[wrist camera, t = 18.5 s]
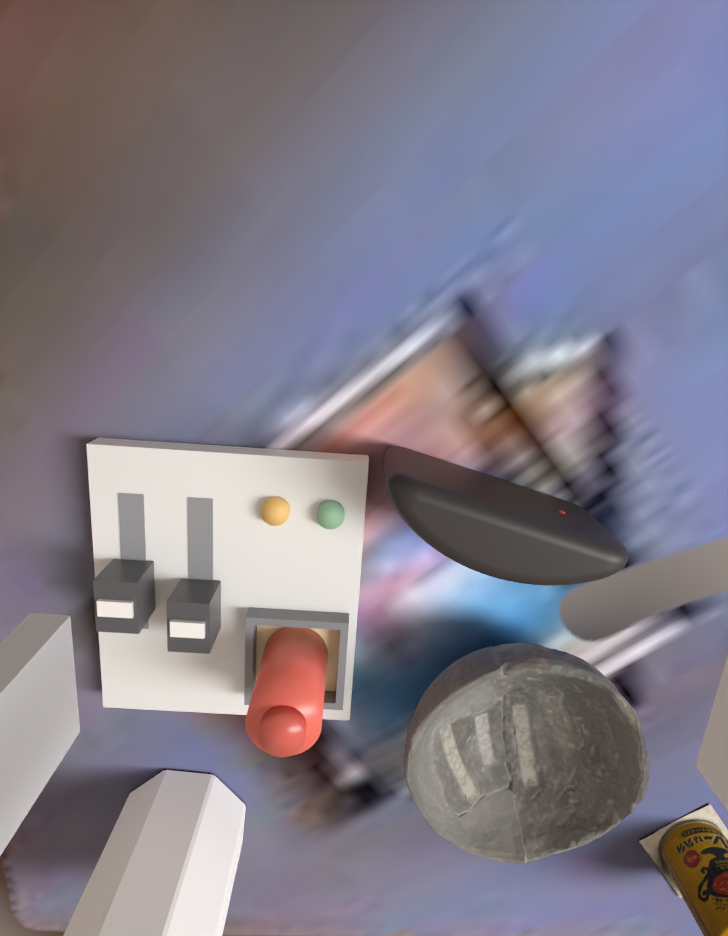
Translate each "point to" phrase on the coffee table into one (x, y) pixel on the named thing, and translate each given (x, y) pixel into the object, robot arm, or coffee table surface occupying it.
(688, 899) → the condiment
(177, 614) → the breaker
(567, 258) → the coffee table surface
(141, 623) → the breaker
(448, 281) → the coffee table surface
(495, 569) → the leaning round-cornered charcoal block
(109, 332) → the coffee table surface
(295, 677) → the cap
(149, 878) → the white canister
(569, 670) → the bowl
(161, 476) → the panel
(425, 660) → the coffee table surface
